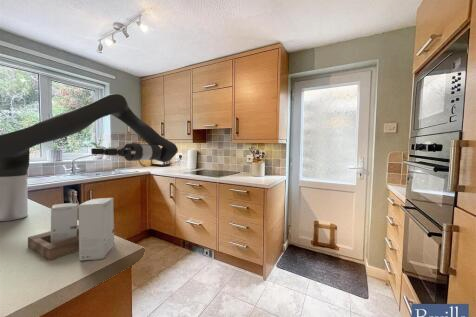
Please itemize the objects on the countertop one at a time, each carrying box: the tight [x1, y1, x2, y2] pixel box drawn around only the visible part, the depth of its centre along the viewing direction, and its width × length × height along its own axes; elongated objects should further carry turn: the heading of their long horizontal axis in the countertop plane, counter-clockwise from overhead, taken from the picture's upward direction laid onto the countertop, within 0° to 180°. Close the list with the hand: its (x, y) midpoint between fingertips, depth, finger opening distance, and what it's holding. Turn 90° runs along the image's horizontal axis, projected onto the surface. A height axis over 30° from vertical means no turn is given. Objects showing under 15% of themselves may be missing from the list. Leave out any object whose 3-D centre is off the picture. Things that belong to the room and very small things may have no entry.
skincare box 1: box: [50, 202, 79, 244], centre depth 62 cm, size 6×4×12 cm
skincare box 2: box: [78, 197, 115, 262], centre depth 57 cm, size 8×6×15 cm
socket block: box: [27, 224, 79, 261], centre depth 62 cm, size 14×12×3 cm
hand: (98, 151), depth 75 cm, fingers open, 8 cm apart
